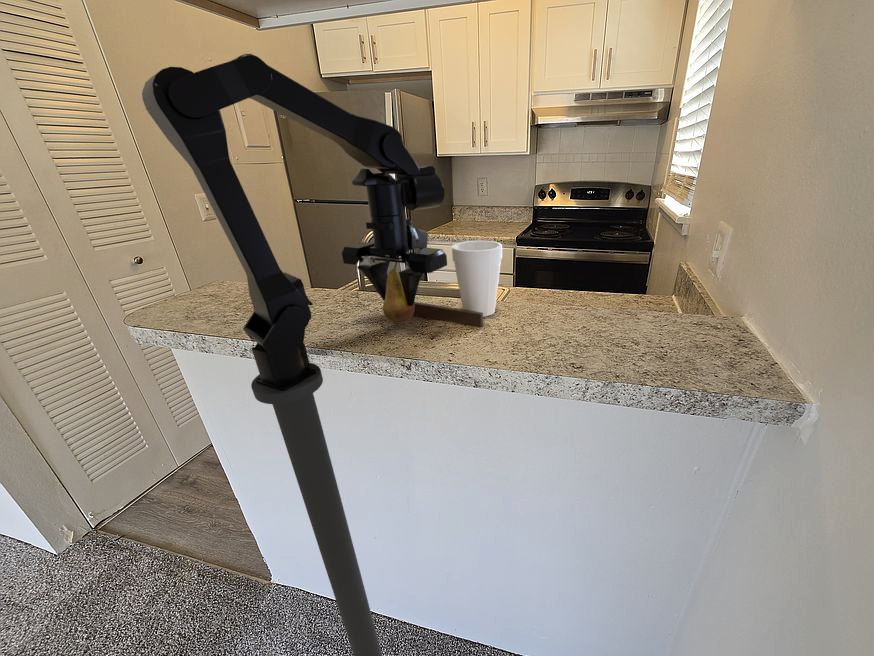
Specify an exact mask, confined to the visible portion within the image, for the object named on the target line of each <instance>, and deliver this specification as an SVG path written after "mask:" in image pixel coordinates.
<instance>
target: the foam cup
mask: <svg viewBox="0 0 874 656" xmlns="http://www.w3.org/2000/svg"><path fill="white" fill-rule="evenodd" d="M451 252H452V253H451V254H452V261H453V264H454V269H455V273H456V278H457V285H458V289H459V295H460V301H461V305H462V309H463V310H469V311H476V312H482V313H483V318H484V317H489V316H491V315H493V314H494V313H495V312H496V306H497V298H498V289H499V281H500V274H501V273H500V272H501V264H502V260H503V244H502V243H501V242H498V241H495V240H486V239H485V240H484V239H481V240H476V239H475V240H466V241H460V242H456V243H454V244H452V245H451Z"/></svg>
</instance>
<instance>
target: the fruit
mask: <svg viewBox="0 0 874 656" xmlns="http://www.w3.org/2000/svg"><path fill="white" fill-rule="evenodd" d="M397 257H399V256H397ZM397 264H398V262H395V264H394V266H393V269H391V270H390V271H388V273H387V275H388V277H387V283H386V295H385V300H383V304H382V305H383V306H382V311H383V314H384V316H385V317H386V319H387V320H388V321H390V322H391V323H394V324H402V323H406V322H409V321H410V320H411V319H412V318H413V317H414V315H413V314H414V310H415V306H414V304H413V305H412V306H408V304H407V301H406V298H405V294H404V290H403V287H402V283H401V279H400V275H399V271H398V270H397Z"/></svg>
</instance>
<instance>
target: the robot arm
mask: <svg viewBox="0 0 874 656" xmlns="http://www.w3.org/2000/svg"><path fill="white" fill-rule="evenodd" d="M141 98H142V102H143V104H144V107H145V110H146V111H147V113H148V114H149V116H150V117H151V118H152V120H153V121H154V123H155V124H156V125H157V127H158V128H159V130H160V131H161V133H162V134H163V135H164V137H165V138H166V139H167V141H168V142H169V143H170V144H171V145H172V146H173V147H174V149H175V150H176V151H177V152H178V154H179V155H180V156H181V157H182V158H183V160H184V161H186V163H187V164H188V166H189V167H190V168H191V170H192V172H193V174H194V175H195V178H196V179H197V182H198V183H199V185H200V187H201V189H202V191H203V193H204V195H205V196H206V199H207V200H208V202H209V205H210V206H211V208H212V210H213V212H214V215H215V216H216V218H217V220H218V221H219V222H218V223H219V224H220V226H221V228H222V230H223V232H224V234H225V235H226V237H227V239H228V241H229V243H230V245H231V247H232V249H233V251H234V254H235V255H236V257H237V259H238V261H239V263H240V265H241V267H242V268H243V270H244V273H245V276H246V278H247V280H246V281H247V287H248V294H249V297H250V301H251V305H252V306H253V312H252V313H251V315H250V316H249V318H248V320H247V321H246V323H245V324H244V326H243V328H242V330H243V332H244V333H245V334H246V335H247V336H248V338H249V339H250V340H252V341H254V342H255V343H256V344H255V346H253V347H251V352H252V356H253V358H254V361H255V364H256V367H257V370H258V373H259V374H260V376H261V377H259V378H257V379H256V383H258V384H262V385H265V386H268V387H271V388H274V389H277V390H280V391H286V390H287V389H289V388H291V387H293V386H294V385H296V384H298V383H299V382H301V381H303V380H305V379H306V378H308V377H310V376H311V375H313V374H315V373H316V369H313V368H310V367H309V366H310V363H311V362H310V359H309V355H308V352H307V351H308V350H307V347H306V344H305V335H306V327H307V326H308V325H309V323H310V320H311V319H312V312H311V307H310V306H313V305H314V304H313V302H312V301H311V300H310V299H309V296H307V294H306V289H305V286H304V285H305V284H304V283H303V280H302V279H301V278H298V277H297V276H294V275H292V274H290V273H287V272H285V271H284V272H283V271H282V269H281V268H280V266H279V264H278V262H277V259H276V257H275V255H274V253H273V250H272V248H271V246H270V244H269V242H268V240H267V238H266V236H265V233H264V231H263V229H262V227H261V224H260V222H259V220H258V218H257V216H256V214H255V212H254V209H253V208H252V205H251V203H250V201H249V198H248V196H247V194H246V192H245V190H244V188H243V185H242V183H241V181H240V179H239V177H238V175H237V173H236V171H235V169H234V166H233V164H232V162H231V159H230V153H229V145H228V139H227V131H226V130H227V129H226V127H225V124H224V119H223V116H222V113H221V110H223V109H226V108H228V107H230V106H232V105H233V106H234V105H235V104H238V103H240V102H242V101H245V100H247V99H250V100H253V101H255V102H257V103H259V104H261V105H263V106H264V107H266V108H268V109H271V110H272V111H274V112H277V113H278V114H280V115H282V116H284V117H286V118H288V119H290V120H292V121H294V122H296V123H298V124H300V125H302V126H304V127H306V128H308V129H310V130H312V131H314V132H316V133H317V134H320V135H321V136H324V137H325V138H327V139H329V140H331V141H333V142H334V143H336V144H337V145H339V146H340V147H341V149H342V150H343V151H344V152H345V153H346V154H347V156H349V157H351V158H352V159H354V160H355V161H356V162H357V163H359V164H360V165H361V166H363V167H365V168H360V169H359V172H358V174H357V175H356V176H355V177H354V179H352V180H351V183H352V185H353V186H354V187H355V186H357V187H365V191H366V196H367V204H368V210H369V217H370V220H369V221H365V227H366V229H367V230H372V237H373V239H372V240H373V242H368V241H367V242H366V241H360V242H356V243H352V244H349V245H345V246H344V247H343V249H342V252H341V257H342V261H343V264H345V265H353V266H354V265H355V266H356V265H357V264H358V263H359V265H358V266H356V267H357V270H358V271H361V272H362V273H363V275H364V276H365V277H366V278H367V279H368V281H369V282H370V283H371V285H372V286H373V287H374V289H375V290H376V292H377V293H378V295H379V297H380V298H381V299H382V301H384V300H385V295H386V283H387V277H388V269H389V266H390V264H391V263H396V262H397V264H398V263H399V264H405V269H404V270H401V271H398V274H399V276H400V279H401V283H402V287H403V290H404V294H405V298H406V301H407V304H408V306H412V305H413V304H414V302H415V300H416V296H417V293H418V288H419V284H420V282H421V279H422V277H423V275H424V274H432V273H435V272H436V271H438V270H440V269H443V268H444V267H447V266H448V257H447V256H448V255H447V254H446V252H445V251H444V249H443V248H435V247H434V248H433V247H428V239H429V232H428V231H425V230H421V229H419V228H416V227H413V221H412V220H411V218H410V217H407V215H406V209H407V210H408V211H417V210H426V209H433V208H438V207H440V206H441V205H442V204H443V202H444V200H445V196H446V195H445V193H446V192H445V187H444V184H443V181H442V180H441V179H442V178H441V177H440V175H438V174H437V173H436V166H435V165H421V166H419V165H418V164H417V162H416V161H415V159H414V158H413V156H412V155H411V153H410V152H409V150H408V149H407V147H406V146H405V144H404V143H405V142H404V140H403V136H402V134H401V132H400V131H399V130H398V129H397V128H395V127H394V126H391V125H389V124H386V123H384V122H381V121H378V120H376V119H371V118H368V117H363V116H359V115H356V114H354V113H350V112H349V111H347V110H345V109H343V108H342V107H341V106H338V105H336V104H335V103H333V102H331V101H330V100H328V99H326V98H325V97H323V96H321V95H319V94H318V93H316V92H314V91H313V90H311V89H309V88H308V87H306V86H304V85H303V84H301V83H299V82H297V81H296V80H294V79H292V78H291V77H289V76H287V75H286V74H284V73H282V72H280V71H279V70H277V69H275V68H274V67H272V66H271V65H269V64H267V63H266V62H265V61H264V60H263V59H261V58H260V57H259V56H257V55H255V54H252V53H243V54H241V55H239V56H237V57H235V58H233V59H231V60H229V61H227V62H222V63H220V64H215V65H213V66H209V67H206V68H204V69H201V70H198V71H196V72H194V71H192V70H190V69H187V68H184V67H181V66H168V67H165V68H162V69H160V70H159V71H157V72H156V73H155V74H153V75H152V76H151V77H150V78H149V79H147V80H146V81H145V83H144V85H143V88H142V92H141ZM371 169H376V170H378V171H379V172H374V173H373V172H372V171H371ZM392 175H396V178H394V177H393V176H392ZM417 249H418V250H417ZM410 251H411V252H410ZM412 251H413V252H412ZM397 256H399V257H397Z"/></svg>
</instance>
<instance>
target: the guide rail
mask: <svg viewBox="0 0 874 656" xmlns="http://www.w3.org/2000/svg"><path fill="white" fill-rule="evenodd" d="M414 306H415V310H414V314H413V316H417V317H422V318H427V319H428V318H429V319H435V320H440V321H446V322H449V323H450V322H451V323H457V324H462V325H468V326H474V327H480V328H481V327H483V326H484V317H483V313H482V312H476V311H469V310H463V308H455V307H449V306H445V305H439V304H438V305H437V304H431V303H424V302H419V301H414Z"/></svg>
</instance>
